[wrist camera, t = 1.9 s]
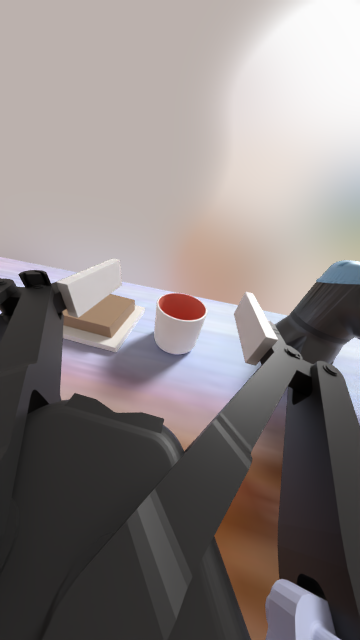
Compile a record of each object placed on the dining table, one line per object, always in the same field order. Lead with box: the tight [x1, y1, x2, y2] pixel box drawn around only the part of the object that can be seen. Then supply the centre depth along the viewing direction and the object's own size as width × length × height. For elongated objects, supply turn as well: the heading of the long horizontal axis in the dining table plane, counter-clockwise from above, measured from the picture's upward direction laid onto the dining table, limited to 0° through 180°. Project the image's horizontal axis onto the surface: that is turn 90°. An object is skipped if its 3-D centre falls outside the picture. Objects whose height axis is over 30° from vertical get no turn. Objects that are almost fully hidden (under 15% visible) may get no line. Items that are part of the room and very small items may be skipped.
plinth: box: [62, 294, 145, 352], centre depth 33 cm, size 15×15×4 cm
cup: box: [154, 293, 207, 354], centre depth 31 cm, size 10×10×10 cm
